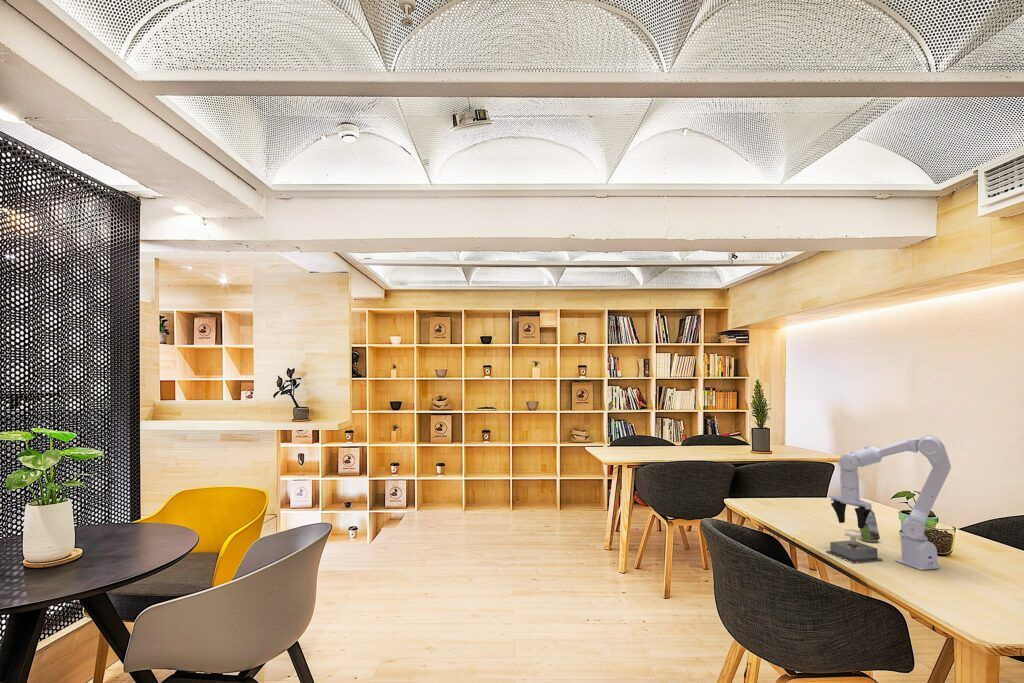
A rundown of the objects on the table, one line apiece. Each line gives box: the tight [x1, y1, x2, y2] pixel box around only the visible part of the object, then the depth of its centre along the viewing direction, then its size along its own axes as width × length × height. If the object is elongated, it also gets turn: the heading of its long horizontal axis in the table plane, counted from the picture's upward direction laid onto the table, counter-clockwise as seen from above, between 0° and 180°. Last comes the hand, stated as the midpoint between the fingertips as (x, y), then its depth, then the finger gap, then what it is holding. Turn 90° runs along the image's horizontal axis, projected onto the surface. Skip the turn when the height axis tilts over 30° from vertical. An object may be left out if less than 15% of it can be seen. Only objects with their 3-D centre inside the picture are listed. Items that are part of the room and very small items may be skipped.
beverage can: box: [859, 509, 881, 543], centre depth 212 cm, size 6×7×12 cm
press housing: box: [825, 540, 884, 564], centre depth 192 cm, size 12×12×4 cm
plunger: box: [844, 529, 862, 547], centre depth 192 cm, size 5×5×5 cm
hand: (851, 525), depth 197 cm, fingers open, 7 cm apart
